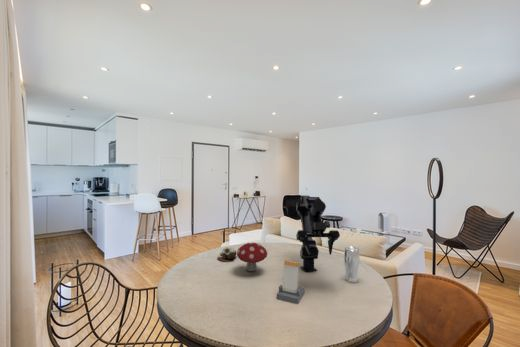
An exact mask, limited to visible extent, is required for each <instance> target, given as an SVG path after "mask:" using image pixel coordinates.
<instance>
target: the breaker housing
mask: <svg viewBox="0 0 520 347" xmlns="http://www.w3.org/2000/svg"><path fill="white" fill-rule="evenodd" d="M282 285H283V284H280V285H279V286H278V291H277V293H276V300H280V299H281V300H280V301H284V302H288V303H293V304H297V305H299V303H300V301H301V300H302V298H303V296H304V295H305V289H306V288H305V287H303V286H298V288H297V294H294V293H290V292H286V291H282Z"/></svg>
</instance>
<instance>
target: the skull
mask: <svg viewBox="0 0 520 347" xmlns="http://www.w3.org/2000/svg"><path fill="white" fill-rule="evenodd" d="M237 258H238V256H237V250H236V249H235V247H234V246H233V245H226V246H225V247H223V249H222V250H221V251H220V253H219V255H218V256H217V259H218V261H220V262H225V263H231V262H234V261H235V260H236V259H237Z"/></svg>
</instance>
